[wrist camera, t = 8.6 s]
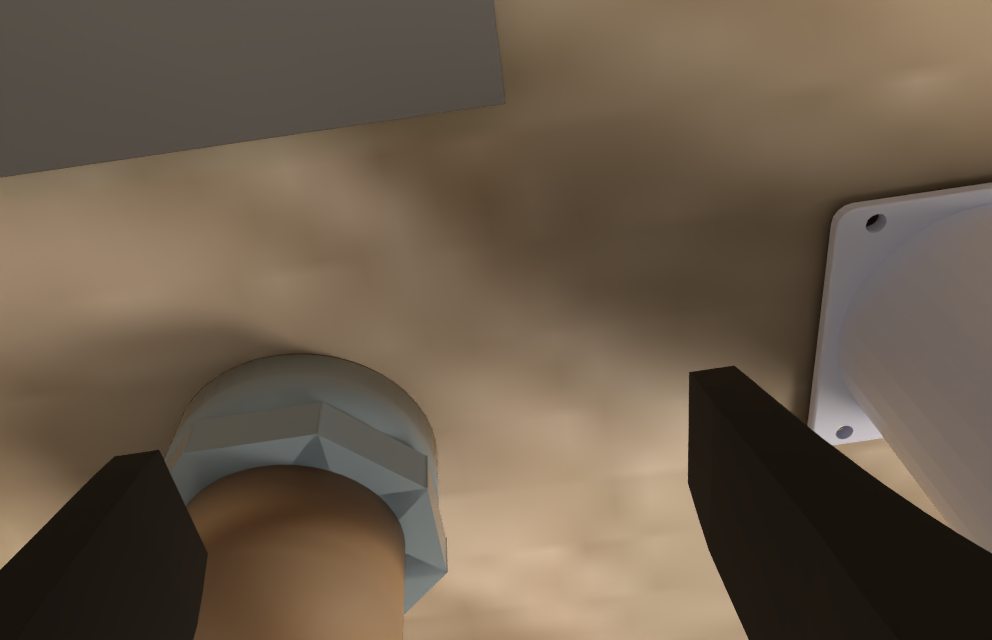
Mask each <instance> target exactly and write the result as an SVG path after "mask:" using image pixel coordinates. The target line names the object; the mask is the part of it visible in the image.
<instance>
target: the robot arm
mask: <svg viewBox="0 0 992 640" xmlns="http://www.w3.org/2000/svg"><path fill="white" fill-rule="evenodd" d="M876 214H879V217H878V219H877V221H876V222H875V223H874V224H872V225H870V226H866V223H867V221H868V219H870V218H871V217H872V216H874V215H876ZM843 426H846V427H844V428H843V429H841V430H839V431H837V430H838V429H840V428H841V427H843ZM879 438H884V439H885V440H886V441H887V443H888V444H889V445H890V447H891V448H892V449H893V451H894V452H895V453H896V455H897V456H898V457H899V459H900V460H901V462H902V463H903V464H904V466H905V467H906V468H907V470H908V471H909V472H910V474H911V475H912V476H913V478H914V479H915V480H916V482H917V483H918V484H919V486H920V487H921V488H922V490H923V491H924V492H925V494H926V495H927V496H928V498H929V499H930V500H931V502H932V503H933V504H934V506H935V507H936V508H937V510H938V511H939V512H940V514H941V515H942V516H943V518H944V519H945V520H946V522H947V523H948V524H949V526H950V527H951V528H952V529H950V528H949V527H947V526H946V525H944V524H942V523H941V522H939V521H938V520H936V519H934V518H933V517H931V516H930V515H928V514H927V513H925V512H924V511H922V510H921V509H919V508H918V507H916V506H915V505H913V504H912V503H911V502H909V501H908V500H906V499H905V498H903V497H902V496H900V495H899V494H897V493H896V492H894V491H893V490H892V489H890V488H889V487H887V486H886V485H884V484H883V483H881V482H880V481H879V480H877V479H876V478H875V477H873V476H872V475H870V474H869V473H868V472H866V471H865V470H864V469H862V468H861V467H860V466H858V465H857V464H856V463H854V462H853V461H852V460H850V459H849V458H848V457H847V456H845V455H844V454H843V453H841V452H840V451H839V450H837V449H836V448H835V447H833V446H832V445H838V444H845V443H852V442H859V441H865V440H872V439H879ZM688 485H689V488H690V491H691V495H692V498H693V501H694V504H695V508H696V511H697V514H698V518H699V521H700V524H701V527H702V530H703V533H704V536H705V540H706V543H707V546H708V549H709V551H710V554H711V556H712V558H713V561H714V563H715V565H716V567H717V570H718V572H719V574H720V576H721V579H722V581H723V583H724V585H725V588H726V590H727V592H728V594H729V597H730V599H731V601H732V603H733V606H734V608H735V610H736V612H737V614H738V617H739V619H740V621H741V623H742V625H743V628H744V630H745V632H746V634H747V637H748V639H749V640H992V183H985V184H978V185H971V186H964V187H958V188H951V189H944V190H937V191H930V192H923V193H917V194H910V195H903V196H896V197H889V198H883V199H876V200H869V201H862V202H855V203H851V204H848V205H845V206H843V207H842V208H841V209H839V210H838V211H837V212H836V214H835V215H834V216H833V219H832V222H831V229H830V238H829V246H828V255H827V263H826V272H825V280H824V289H823V297H822V306H821V314H820V323H819V332H818V340H817V349H816V357H815V366H814V374H813V383H812V391H811V400H810V408H809V417H808V425H806V424H804V423H803V422H802V421H801V420H799V419H798V418H797V417H796V416H795V415H793V414H792V413H791V412H790V411H788V410H787V409H786V408H785V407H784V406H782V405H781V404H780V403H779V402H778V401H776V400H775V399H774V398H773V397H772V396H770V395H769V394H768V393H767V392H766V391H764V390H763V389H762V388H761V387H760V386H758V385H757V384H756V383H755V382H754V381H753V380H751V379H750V378H749V377H748V376H746V375H745V374H744V373H743V372H741V371H740V370H739V369H738V368H736V367H735V366H729V367H722V368H715V369H709V370H702V371H695V372H689V442H688ZM207 557H208V552H207V550H206V548H205V546H204V544H203V542H202V540H201V538H200V535H199V533H198V531H197V529H196V527H195V525H194V523H193V521H192V518H191V516H190V514H189V512H188V510H187V508H186V506H185V504H184V501H183V499H182V497H181V495H180V493H179V491H178V489H177V487H176V484H175V482H174V480H173V478H172V476H171V474H170V472H169V470H168V467H167V465H166V463H165V461H164V459H163V457H162V455H161V453H160V450H156V451H149V452H142V453H136V454H129V455H122V456H115V457H114V458H113V459H111V460H110V461H109V462H108V463H107V464H106V465H105V466H104V467H103V468H102V469H101V470H99V471H98V472H97V473H96V474H95V475H94V476H93V477H92V478H91V479H90V480H89V481H88V482H87V483H86V484H85V485H84V486H83V487H82V488H81V489H80V490H79V491H78V492H77V493H76V494H75V495H74V496H73V497H72V498H71V499H70V500H69V501H68V502H67V503H66V504H65V505H64V506H63V507H62V508H61V509H60V510H59V511H58V512H57V513H56V514H55V515H54V516H53V517H52V518H51V519H50V521H49V522H48V523H47V524H46V525H45V526H44V527H43V528H42V529H41V530H40V531H39V532H38V533H37V534H36V535H35V536H34V537H33V538H32V539H31V540H30V541H29V542H28V543H27V544H26V545H25V546H24V547H23V548H22V549H21V550H20V551H19V552H18V553H17V554H16V555H15V556H14V557H13V558H12V559H11V560H10V561H9V562H8V563H7V564H6V565H5V566H4V567H3V568H2V569H1V570H0V640H193V639H194V635H195V632H196V628H197V624H198V618H199V612H200V606H201V600H202V594H203V587H204V580H205V572H206V565H207Z"/></svg>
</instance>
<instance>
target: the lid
mask: <svg viewBox="0 0 992 640" xmlns="http://www.w3.org/2000/svg"><path fill="white" fill-rule="evenodd" d="M186 508H187V510H188V512H189V514H190V516H191V518H192V521H193V523H194V525H195V527H196V529H197V531H198V533H199V535H200V538H201V540H202V542H203V544H204V546H205V548H206V550H207V552H208V557H207V565H206V572H205V580H204V587H203V594H202V600H201V606H200V612H199V618H198V624H197V628H196V632H195V635H194V639H193V640H403V625H404V584H405V538H404V533H403V530H402V527H401V524H400V522H399V520H398V518H397V517H396V515H395V513H394V512H393V511H392V509H391V508H390V507H389V505H388V504H387V503H386V502H385V501H384V500H383V499H382V498H380V497H379V496H378V495H377V494H376V493H374V492H373V491H372V490H370V489H369V488H367V487H366V486H364V485H362V484H360V483H359V482H357V481H355V480H353V479H350V478H348V477H346V476H344V475H341V474H338V473H335V472H332V471H328V470H324V469H320V468H315V467H309V466H300V465H270V466H261V467H255V468H249V469H245V470H242V471H239V472H235V473H232V474H230V475H227V476H225V477H223V478H220V479H218V480H217V481H215V482H213V483H211V484H210V485H208V486H206V487H205V488H204V489H203V490H201V491H200V492H199V493H197V494H196V495H195V496H194V497H193V499H192V500H191V501H190V502H189V503H188V504H187V506H186Z"/></svg>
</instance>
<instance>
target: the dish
mask: <svg viewBox="0 0 992 640" xmlns="http://www.w3.org/2000/svg"><path fill="white" fill-rule="evenodd" d="M164 461H165V463H166V465H167V467H168V470H169V472H170V474H171V476H172V478H173V480H174V482H175V484H176V487H177V489H178V491H179V493H180V495H181V497H182V499H183V501H184V504H185V506H187V504H188V503H189V502H190V501H191V500H192V499H193V497H194V496H195V495H196V494H197V493H199V492H200V491H201V490H203V489H204V488H205V487H206V486H208V485H210V484H211V483H213V482H215V481H217V480H218V479H220V478H223V477H225V476H227V475H230V474H232V473H235V472H239V471H242V470H245V469H249V468H255V467H261V466H270V465H300V466H309V467H315V468H320V469H324V470H328V471H332V472H335V473H338V474H341V475H344V476H346V477H348V478H350V479H353V480H355V481H357V482H359V483H360V484H362V485H364V486H366V487H367V488H369V489H370V490H372V491H373V492H374V493H376V494H377V495H378V496H379V497H380V498H382V499H383V500H384V501H385V502H386V503H387V504H388V505H389V507H390V508H391V509H392V511H393V512H394V513H395V515H396V517H397V518H398V520H399V522H400V524H401V527H402V530H403V533H404V538H405V584H404V614H405V613H406V612H407V611H408V610H409V609H410V608H411V607H412V606H413V605H414V604H415V603H416V602H417V601H418V600H419V599H420V598H421V597H423V596H424V595H425V594H426V593H427V592H428V591H429V590H430V589H431V588H432V587H433V586H434V585H435V584H436V583H437V582H438V581H439V580H440V579H441V578H442V577H443V576H444V575H445V574H446V573H447V572H448V568H447V538H446V537H445V532H444V528H443V523H442V519H441V515H440V510H439V504H438V460H437V447H436V440H435V437H434V433H433V430H432V427H431V425H430V423H429V421H428V419H427V417H426V416H425V414H424V413H423V411H422V410H421V408H420V407H419V406H418V404H417V403H416V402H415V401H414V400H413V399H412V398H411V397H410V396H409V395H408V394H407V393H406V392H405V391H404V390H403V389H401V388H400V387H399V386H398V385H397V384H395V383H394V382H392V381H391V380H389V379H388V378H386V377H384V376H383V375H381V374H379V373H377V372H375V371H373V370H371V369H369V368H367V367H364V366H361V365H359V364H356V363H353V362H350V361H347V360H342V359H338V358H334V357H328V356H320V355H312V354H289V355H278V356H271V357H266V358H262V359H257V360H254V361H251V362H248V363H245V364H241V365H239V366H237V367H235V368H233V369H230V370H228V371H226V372H224V373H223V374H221V375H220V376H218V377H217V378H215V379H213V380H212V381H211V382H209V383H208V384H207V385H206V386H205V387H204V388H203V389H201V390H200V391H199V392H198V394H197V395H196V396H195V397H194V398H193V399H192V401H191V402H190V403H189V405H188V407H187V408H186V410H185V412H184V414H183V416H182V418H181V421H180V423H179V426H178V428H177V431H176V433H175V435H174V438H173V440H172V443H171V445H170V448H169V450H168V453H167V455H166V458H165V460H164Z"/></svg>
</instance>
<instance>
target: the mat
mask: <svg viewBox="0 0 992 640" xmlns="http://www.w3.org/2000/svg"><path fill="white" fill-rule="evenodd" d="M498 104H505V95H504V86H503V78H502V69H501V61H500V52H499V44H498V35H497V27H496V18H495V10H494V1H493V0H0V177H7V176H14V175H21V174H28V173H34V172H41V171H48V170H55V169H62V168H69V167H75V166H82V165H89V164H96V163H103V162H109V161H116V160H123V159H130V158H137V157H144V156H150V155H157V154H164V153H171V152H178V151H184V150H191V149H198V148H205V147H212V146H219V145H225V144H232V143H239V142H246V141H253V140H259V139H266V138H273V137H280V136H287V135H294V134H300V133H307V132H314V131H321V130H328V129H334V128H341V127H348V126H355V125H362V124H369V123H375V122H382V121H389V120H396V119H403V118H410V117H416V116H423V115H430V114H437V113H444V112H450V111H457V110H464V109H471V108H478V107H485V106H491V105H498Z"/></svg>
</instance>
